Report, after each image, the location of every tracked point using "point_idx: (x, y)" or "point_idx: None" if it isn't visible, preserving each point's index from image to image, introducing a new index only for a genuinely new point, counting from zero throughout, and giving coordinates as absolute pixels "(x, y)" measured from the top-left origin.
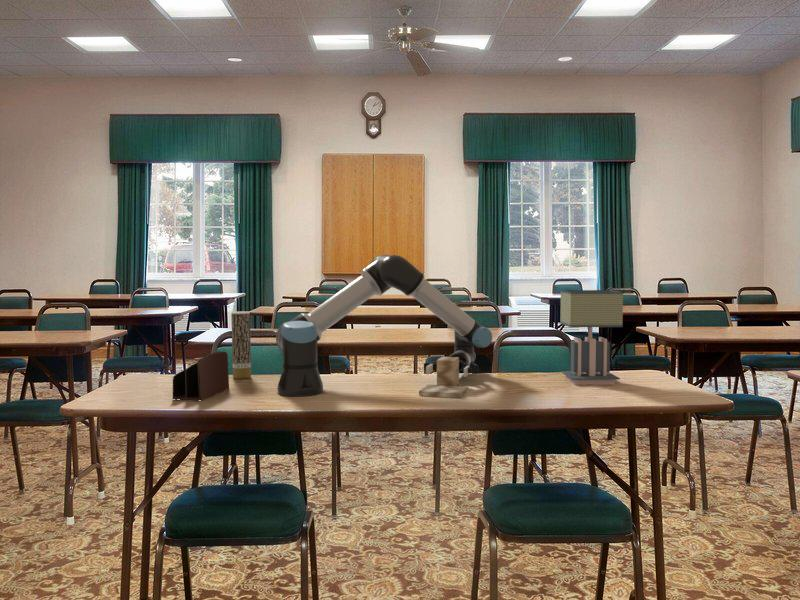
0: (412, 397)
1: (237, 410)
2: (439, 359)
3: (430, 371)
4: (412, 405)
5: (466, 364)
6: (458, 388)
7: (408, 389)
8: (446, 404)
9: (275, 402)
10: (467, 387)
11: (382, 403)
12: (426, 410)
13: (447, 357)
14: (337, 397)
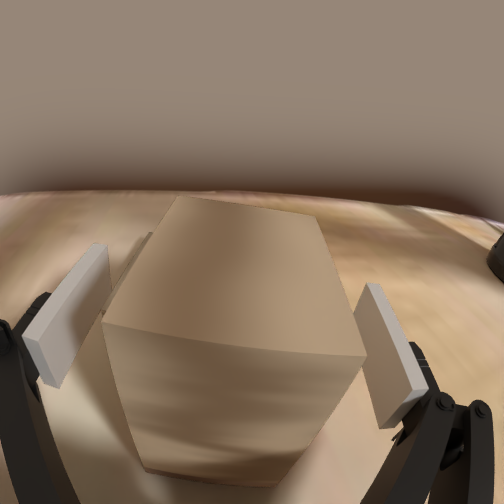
0: None
1: (463, 216)
2: (307, 229)
3: (367, 360)
4: None
5: (24, 424)
6: None
7: None
8: None
9: (475, 235)
10: (105, 304)
11: (341, 222)
12: (231, 191)
13: (270, 306)
14: (448, 254)
